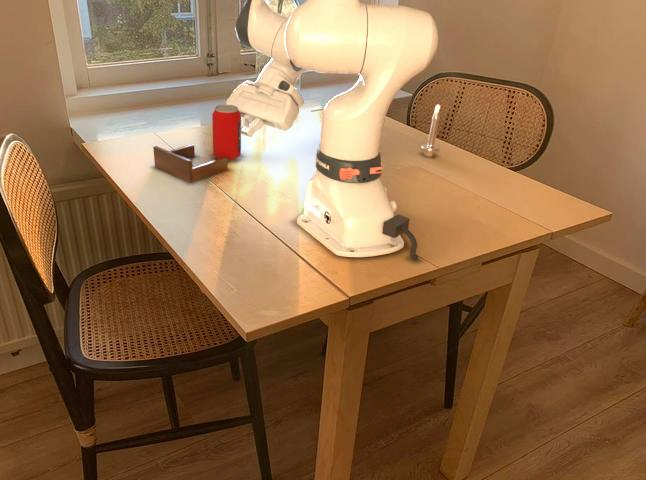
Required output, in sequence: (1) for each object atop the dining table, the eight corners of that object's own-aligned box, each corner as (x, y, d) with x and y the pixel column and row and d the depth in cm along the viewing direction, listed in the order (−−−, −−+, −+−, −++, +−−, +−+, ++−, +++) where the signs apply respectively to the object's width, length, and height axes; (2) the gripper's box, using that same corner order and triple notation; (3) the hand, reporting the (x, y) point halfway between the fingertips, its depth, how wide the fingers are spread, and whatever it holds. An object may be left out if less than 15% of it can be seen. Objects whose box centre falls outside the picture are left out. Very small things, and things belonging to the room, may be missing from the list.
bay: (192, 155, 142) (191, 135, 139) (227, 170, 135) (227, 149, 133) (154, 167, 135) (153, 146, 132) (190, 183, 128) (188, 161, 125)
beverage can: (246, 157, 143) (247, 108, 136) (226, 164, 138) (225, 113, 132) (227, 150, 146) (227, 102, 140) (207, 156, 142) (206, 107, 136)
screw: (442, 155, 150) (430, 159, 147) (427, 150, 153) (415, 154, 150) (452, 105, 143) (440, 108, 140) (436, 100, 146) (424, 103, 143)
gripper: (237, 71, 148) (209, 117, 147) (298, 88, 137) (269, 137, 136) (249, 87, 153) (222, 131, 152) (309, 103, 142) (281, 151, 141)
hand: (245, 134), depth 144 cm, fingers closed
